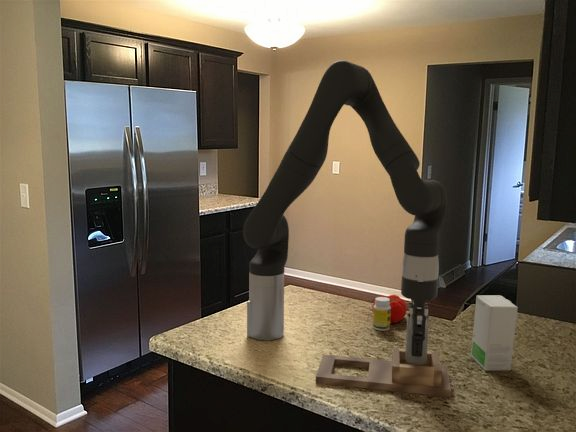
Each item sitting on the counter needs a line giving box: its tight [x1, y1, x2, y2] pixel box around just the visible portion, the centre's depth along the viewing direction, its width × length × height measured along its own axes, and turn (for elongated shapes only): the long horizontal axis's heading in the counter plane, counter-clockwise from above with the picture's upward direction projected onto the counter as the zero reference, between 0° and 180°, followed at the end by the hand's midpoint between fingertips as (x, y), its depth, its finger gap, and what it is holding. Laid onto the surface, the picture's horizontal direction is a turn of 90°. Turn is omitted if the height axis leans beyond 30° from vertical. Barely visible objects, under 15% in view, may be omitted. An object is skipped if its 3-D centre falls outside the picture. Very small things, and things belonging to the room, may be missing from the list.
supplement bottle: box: [372, 296, 391, 332], centre depth 146 cm, size 5×5×8 cm
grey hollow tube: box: [405, 313, 430, 365], centre depth 114 cm, size 4×4×10 cm
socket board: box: [315, 347, 452, 398], centre depth 116 cm, size 28×12×5 cm, turn 79°
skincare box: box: [470, 294, 519, 372], centre depth 123 cm, size 8×7×16 cm
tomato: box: [371, 294, 408, 324], centre depth 153 cm, size 10×11×6 cm
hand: (416, 350), depth 114 cm, fingers closed on grey hollow tube, 4 cm apart
